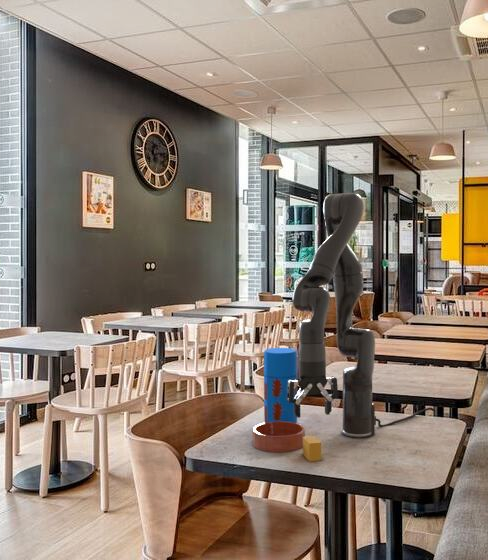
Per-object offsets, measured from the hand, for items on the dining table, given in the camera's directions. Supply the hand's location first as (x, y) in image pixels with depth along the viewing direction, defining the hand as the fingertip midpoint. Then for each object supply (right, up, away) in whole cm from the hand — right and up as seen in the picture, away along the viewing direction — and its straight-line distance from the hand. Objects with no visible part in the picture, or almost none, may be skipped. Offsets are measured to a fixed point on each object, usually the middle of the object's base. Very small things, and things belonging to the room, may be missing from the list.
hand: (312, 415), depth 168 cm
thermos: (-10, -10, +30) cm, 33 cm away
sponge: (0, -12, 0) cm, 12 cm away
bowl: (-10, -11, +12) cm, 19 cm away
